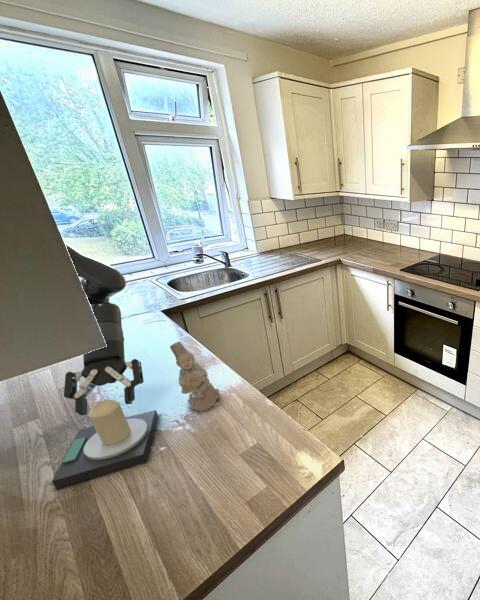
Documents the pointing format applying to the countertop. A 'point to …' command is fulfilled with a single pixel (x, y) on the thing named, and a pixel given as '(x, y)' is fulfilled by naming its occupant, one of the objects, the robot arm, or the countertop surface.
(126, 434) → the candle
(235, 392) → the countertop surface
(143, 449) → the kitchen scale
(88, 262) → the robot arm
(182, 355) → the figurine
